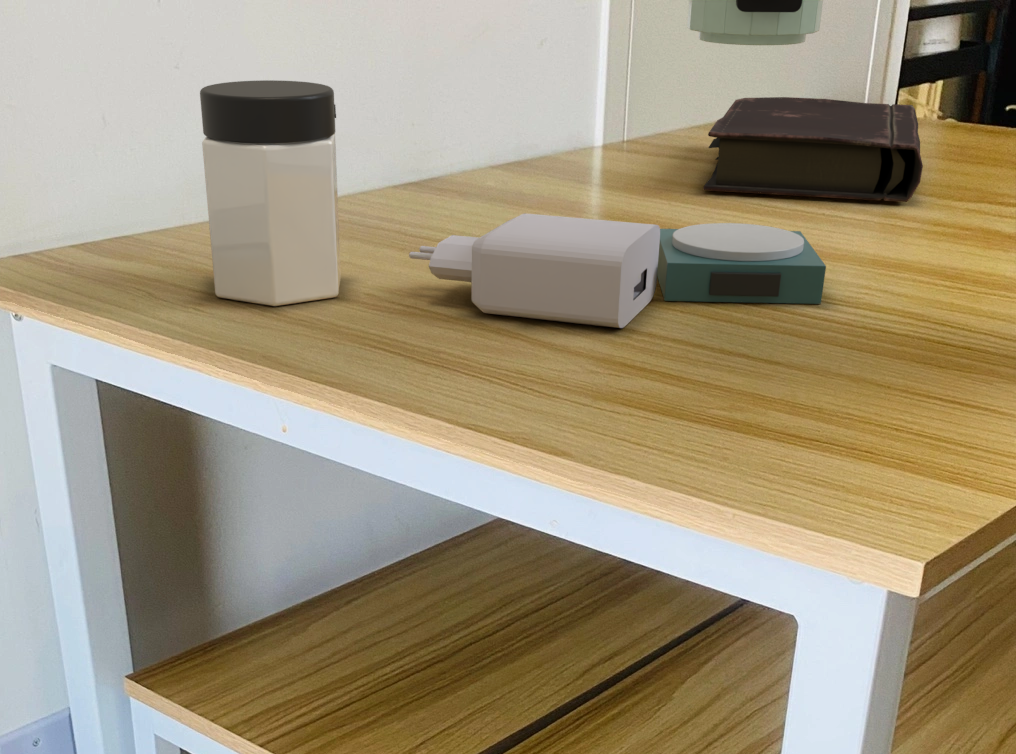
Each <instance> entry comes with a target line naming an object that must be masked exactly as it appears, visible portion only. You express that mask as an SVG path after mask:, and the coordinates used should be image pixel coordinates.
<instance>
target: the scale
mask: <svg viewBox="0 0 1016 754" xmlns="http://www.w3.org/2000/svg"><path fill="white" fill-rule="evenodd" d="M826 270H827V265H826V264H825V262H824V261H823V260H822V259H821V257H820V256H819V254H818V253H817V252H816V250H815V249H814V248H813V246H812V245H811V244H810V242H809V241H808V240H807V238H806V237H805V235H804V234H803V233H802V231H800V230H787V229H783V228H779V227H774V226H768V225H761V224H754V223H739V222H738V223H737V222H713V223H700V224H692V225H688V226H684V227H680V228H660V244H659V257H658V270H657V281H658V284H659V287H660V290H661V294H662V297H663V300H664V301H665V302H694V303H695V302H697V303H698V302H699V303H700V302H702V303H743V304H744V303H745V304H746V303H748V304H795V305H796V304H798V305H801V304H802V305H821V304H822V299H823V291H824V283H825V277H826Z"/></svg>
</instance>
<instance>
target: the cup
mask: <svg viewBox="0 0 1016 754" xmlns="http://www.w3.org/2000/svg"><path fill="white" fill-rule="evenodd" d="M823 3H824V0H802V5H801V8H800V9H799V10H798V11H796V12H742V11H740V10H739V9H738V8H737V6H736V0H688V8H687V10H688V11H687V22H686V23H687V24H686V27H687V29H689V31H693V32H698V40H700V41H702V42H707V43H712V44H721V45H722V44H723V45H734V46H735V45H737V46H788V45H797V44H802V43H804V42H806V39H807V35H809V34H815V33H817V32H819V31H820V29H821V21H822V13H823Z"/></svg>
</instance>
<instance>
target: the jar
mask: <svg viewBox="0 0 1016 754" xmlns="http://www.w3.org/2000/svg"><path fill="white" fill-rule="evenodd" d="M199 97H200V98H199V99H200V110H201V120H202V121H201V122H202V123H201V124H202V133H203V135H204V136H205V137H204V139H203V140H202V141H201V147H202V159H203V169H204V180H205V182H204V183H205V192H206V203H207V214H208V226H209V237H210V238H209V239H210V247H211V248H210V250H211V261H212V271H213V272H212V273H213V283H214V293H215V296H216V297H218V298H220V299H227V300H232V301H240V302H244V303H252V304H258V305H263V306H269V307H270V306H271V307H278V306H279V307H280V306H285V305H293V304H298V303H299V304H300V303H306V302H312V301H313V302H314V301H320V300H326V299H332V298H333V299H334V298H336V297H338V296H339V293H340V285H341V279H342V278H341V277H342V274H341V273H342V272H341V269H342V268H341V248H340V247H341V246H340V245H341V244H340V225H339V224H340V223H339V197H338V173H337V172H338V171H337V148H336V147H337V146H336V119H337V112H336V104H335V93H334V89H333V87H331V86H329V85H326V84H323V83H316V82H309V81H297V80H274V79H273V80H269V79H268V80H266V79H265V80H244V81H243V80H239V81H238V80H237V81H227V82H221V83H220V82H219V83H215V84H209V85H206V86H203V87H202V88H201V89H200V90H199Z"/></svg>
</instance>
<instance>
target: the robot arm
mask: <svg viewBox="0 0 1016 754" xmlns="http://www.w3.org/2000/svg"><path fill="white" fill-rule="evenodd" d="M801 5H802V0H736V6H737V8H738V9H739V10H740V11H742V12H796V11H798V10H799V9H800V8H801Z"/></svg>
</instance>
